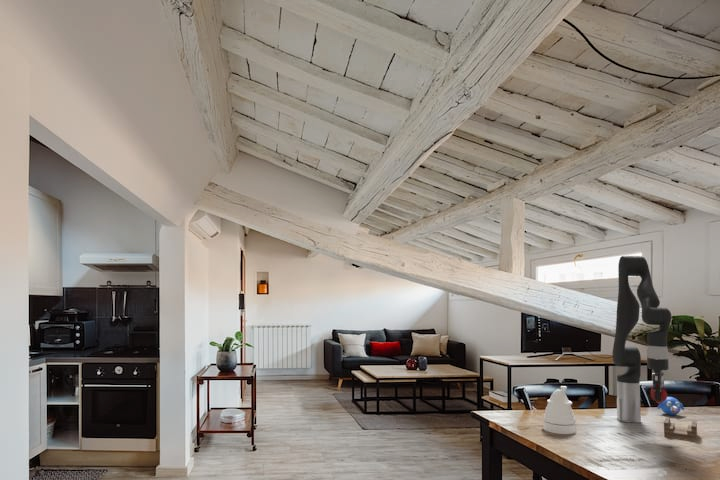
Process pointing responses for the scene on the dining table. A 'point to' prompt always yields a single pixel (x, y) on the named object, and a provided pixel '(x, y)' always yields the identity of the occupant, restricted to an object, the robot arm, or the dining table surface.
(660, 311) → the robot arm
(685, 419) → the dining table surface
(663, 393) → the pomegranate
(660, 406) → the blue mole toy
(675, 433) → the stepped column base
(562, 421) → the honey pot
